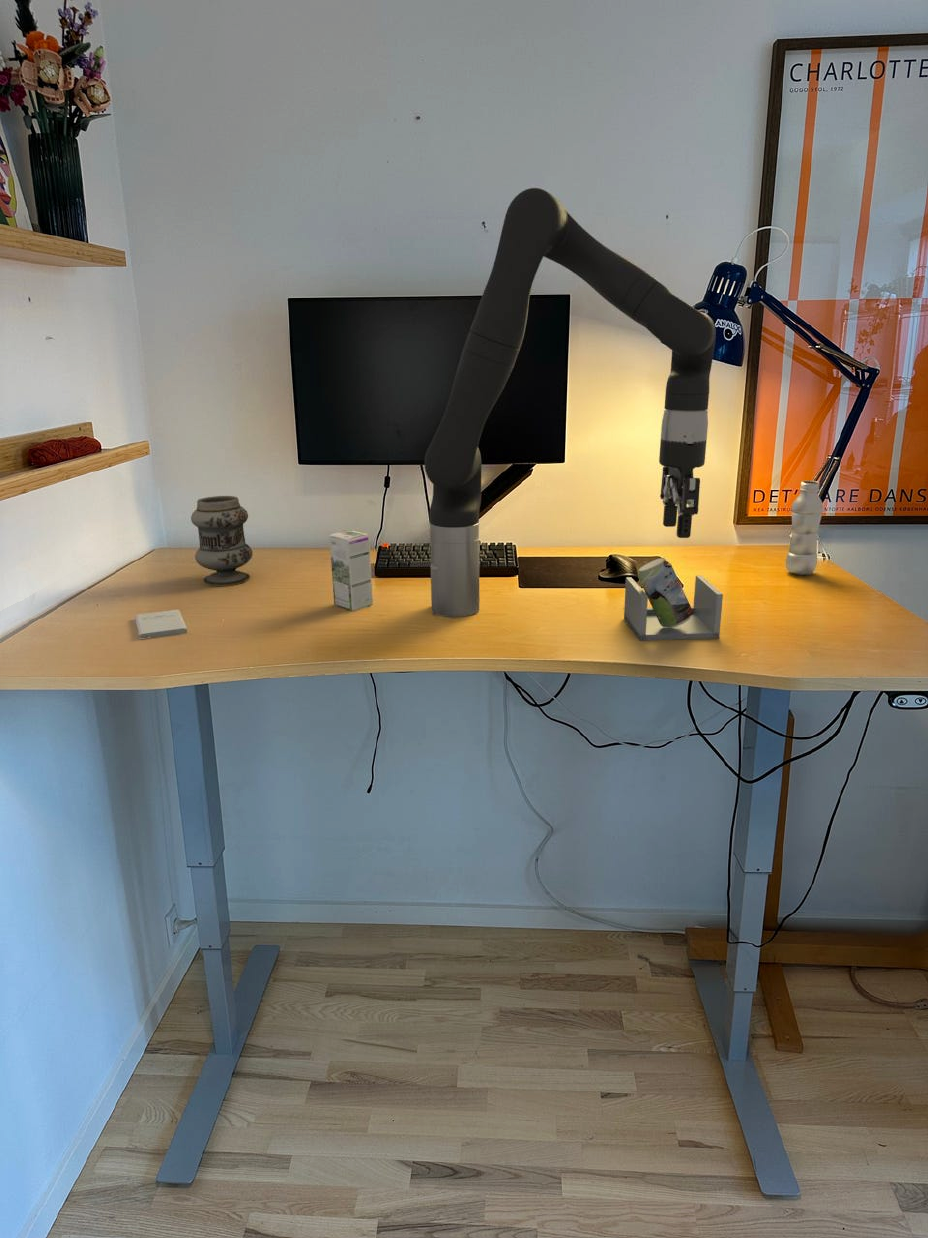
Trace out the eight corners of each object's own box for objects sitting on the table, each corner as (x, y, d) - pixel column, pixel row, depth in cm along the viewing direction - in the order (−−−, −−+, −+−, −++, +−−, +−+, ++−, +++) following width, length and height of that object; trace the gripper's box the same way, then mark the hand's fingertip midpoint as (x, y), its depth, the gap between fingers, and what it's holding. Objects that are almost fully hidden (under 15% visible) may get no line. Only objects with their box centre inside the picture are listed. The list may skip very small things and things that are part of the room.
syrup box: (374, 604, 173) (370, 532, 168) (351, 611, 168) (347, 538, 164) (355, 599, 176) (351, 528, 172) (332, 605, 172) (328, 533, 168)
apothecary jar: (224, 570, 199) (215, 491, 193) (266, 576, 193) (259, 495, 188) (185, 584, 188) (176, 501, 183) (229, 590, 183) (220, 505, 177)
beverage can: (695, 625, 150) (677, 560, 147) (653, 635, 152) (634, 571, 149) (695, 613, 155) (677, 550, 152) (654, 623, 158) (636, 561, 155)
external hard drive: (140, 642, 155) (135, 622, 166) (188, 636, 158) (180, 616, 169) (139, 634, 154) (134, 614, 165) (187, 627, 158) (179, 608, 168)
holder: (639, 640, 151) (642, 596, 149) (623, 618, 162) (625, 577, 160) (719, 638, 152) (723, 594, 149) (698, 616, 163) (701, 575, 161)
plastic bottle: (818, 572, 191) (829, 481, 185) (812, 579, 186) (823, 485, 179) (788, 568, 195) (798, 478, 188) (780, 575, 189) (790, 483, 183)
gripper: (650, 432, 153) (644, 523, 158) (673, 442, 139) (665, 541, 145) (692, 432, 153) (685, 522, 158) (719, 442, 140) (710, 541, 145)
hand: (676, 531), depth 151 cm, fingers open, 8 cm apart
